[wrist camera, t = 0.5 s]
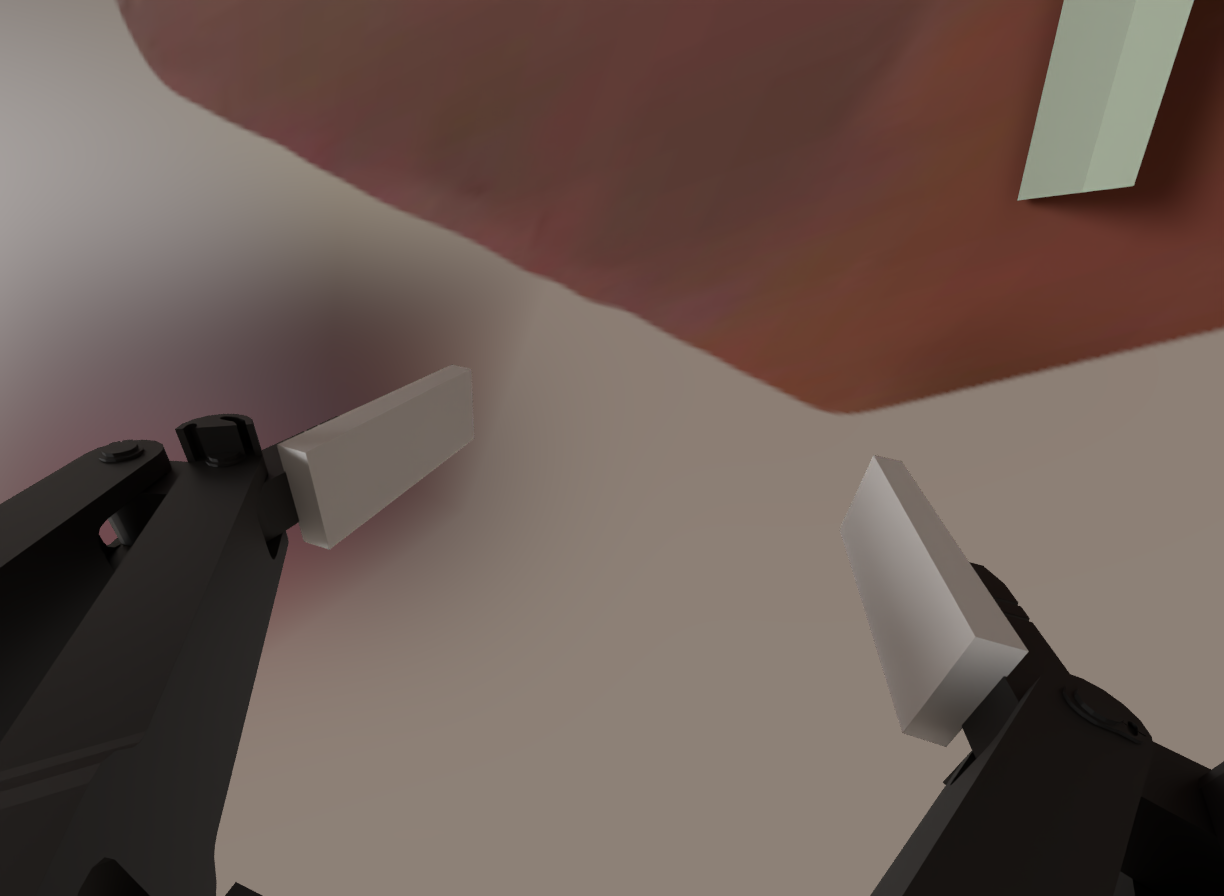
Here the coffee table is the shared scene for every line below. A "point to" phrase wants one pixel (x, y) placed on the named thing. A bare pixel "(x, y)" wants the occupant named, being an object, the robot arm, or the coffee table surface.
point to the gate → (1102, 94)
